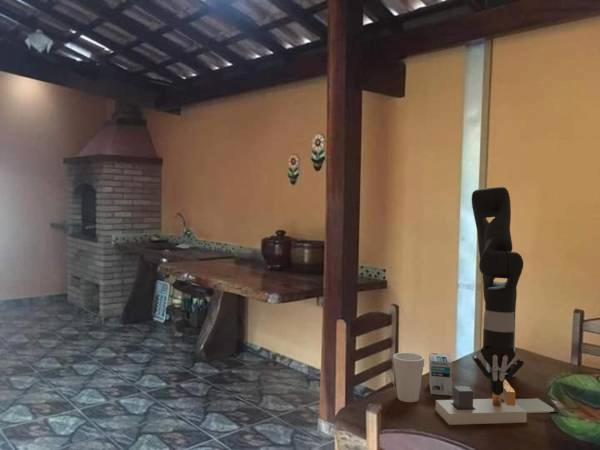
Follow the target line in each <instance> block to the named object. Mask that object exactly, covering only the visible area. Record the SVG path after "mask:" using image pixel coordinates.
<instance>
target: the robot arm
mask: <svg viewBox="0 0 600 450" xmlns="http://www.w3.org/2000/svg"><path fill="white" fill-rule="evenodd" d="M511 205H512V204H511V197H510V192H509V191H508V188H506V187H504V186H494V187H493V186H492V187H485V188H483V187H482V188H479V189H476V190H475V189H474V191H473V192H472V193H471V208H472V212H473V213H472V214H473V217H474V223H475V227H476V231H477V232H476V233H477V245H478V252H479V253H478V254H479V263H478V269H479V271H480V273H481V274H482V287H483V288H482V289H483V291H482V292H483V299H484V304H485V305H484V308H485V309H484V315H483V329H482V330H483V331H482V334H483V335H482V347H481V349H480V353H478V354H477V355H473V356H472V358H471V359H472V361H474V363H475V364H476V366H477V367H478V369H479V370H480V371H481V372H482V375H484V376H485V377H486V378H487V379H490V388H489V389H490V391H491V393H492V395H493V394H494V395H501V393H503V382H504V380H506V381H507V380H510V379H512V378H514V377H515V375H516V373H517V372H518V371H519V370H520V369H521V368H522V366H523V365H524V364H525V362H524V361H523V360H522V359H521V358H519V357H518V356H516V310H517V297H518V296H517V294H518V293H517V291H518V290H517V287H518V283H519V280H520V278H521V275H522V272H523V270H524V259H523V257H522V255H521V254H520V253H519V252H516V251H513V240H512V235H511V216H512V215H511V214H512V213H511V211H512V210H511V208H512V207H511ZM488 218H493V219H492V220H491V221H490V222H489V220H488ZM495 279H506V281H494V280H495ZM484 361H485V362H486V367H485V365H484V364H483V363H484Z"/></svg>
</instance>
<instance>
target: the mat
mask: <svg viewBox="0 0 600 450" xmlns="http://www.w3.org/2000/svg"><path fill="white" fill-rule="evenodd" d="M515 404H517V405H518V406H520V407H521V408H522V409H524V410H525V411H527V414H551V413H550V412H553V411H554V409H555V408H554V407H552V406H550V405H549V404H547V403H546V402H544V401H543V400H541V399H540V398H515Z"/></svg>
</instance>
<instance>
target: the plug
mask: <svg viewBox="0 0 600 450" xmlns="http://www.w3.org/2000/svg"><path fill="white" fill-rule="evenodd" d="M452 398H453V399H452V400H453V406H454V407H455V408H456V409H457V410H473V399H474V391H473V389H471V387H469V386H467V385H466V386H465V385H460V386H456V385H455V386H453V387H452Z"/></svg>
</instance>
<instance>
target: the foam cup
mask: <svg viewBox="0 0 600 450" xmlns="http://www.w3.org/2000/svg"><path fill="white" fill-rule="evenodd" d="M392 357H393V360H392V361H393V362H392V363H393V368H394V376H395V377H394V378H395V385H396V387H395V388H396V394H397V399H398V400H399V401H401V402H404V403H405V402H406V403H415V402H418V401H419V398H420V392H421V385H422V378H423V372H424V367H425V356H423V355H421V354H419V353H415V352H397V353H394V354H393V356H392Z"/></svg>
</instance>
